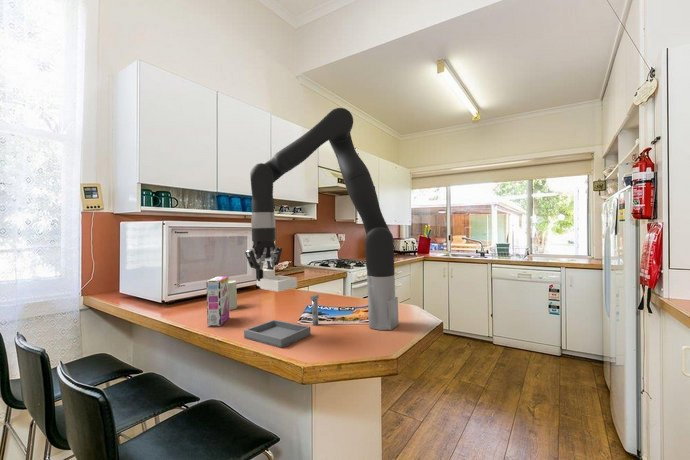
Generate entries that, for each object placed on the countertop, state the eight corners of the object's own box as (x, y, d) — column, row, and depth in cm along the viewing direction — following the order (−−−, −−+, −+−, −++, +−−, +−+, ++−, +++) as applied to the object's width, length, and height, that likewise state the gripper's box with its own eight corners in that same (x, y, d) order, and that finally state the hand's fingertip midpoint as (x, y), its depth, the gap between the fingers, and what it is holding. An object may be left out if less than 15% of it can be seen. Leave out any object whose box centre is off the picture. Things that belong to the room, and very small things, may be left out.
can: (242, 306, 139) (241, 279, 139) (224, 312, 131) (223, 283, 131) (228, 304, 144) (227, 278, 144) (210, 309, 136) (209, 282, 136)
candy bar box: (221, 326, 112) (219, 280, 111) (207, 327, 111) (205, 281, 111) (230, 317, 123) (228, 275, 123) (217, 318, 122) (215, 276, 122)
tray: (310, 334, 100) (310, 326, 100) (281, 348, 89) (281, 339, 89) (274, 326, 109) (274, 319, 109) (244, 337, 99) (243, 330, 99)
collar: (297, 287, 99) (297, 271, 99) (278, 291, 93) (278, 275, 93) (270, 282, 106) (270, 268, 106) (251, 286, 100) (250, 271, 100)
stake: (320, 323, 111) (319, 295, 110) (315, 326, 108) (313, 296, 108) (316, 323, 112) (315, 294, 112) (310, 325, 109) (309, 296, 109)
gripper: (253, 227, 94) (255, 284, 94) (287, 226, 105) (289, 277, 106) (237, 227, 98) (239, 282, 98) (272, 226, 110) (273, 276, 110)
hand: (265, 279), depth 102 cm, fingers closed on collar, 3 cm apart
